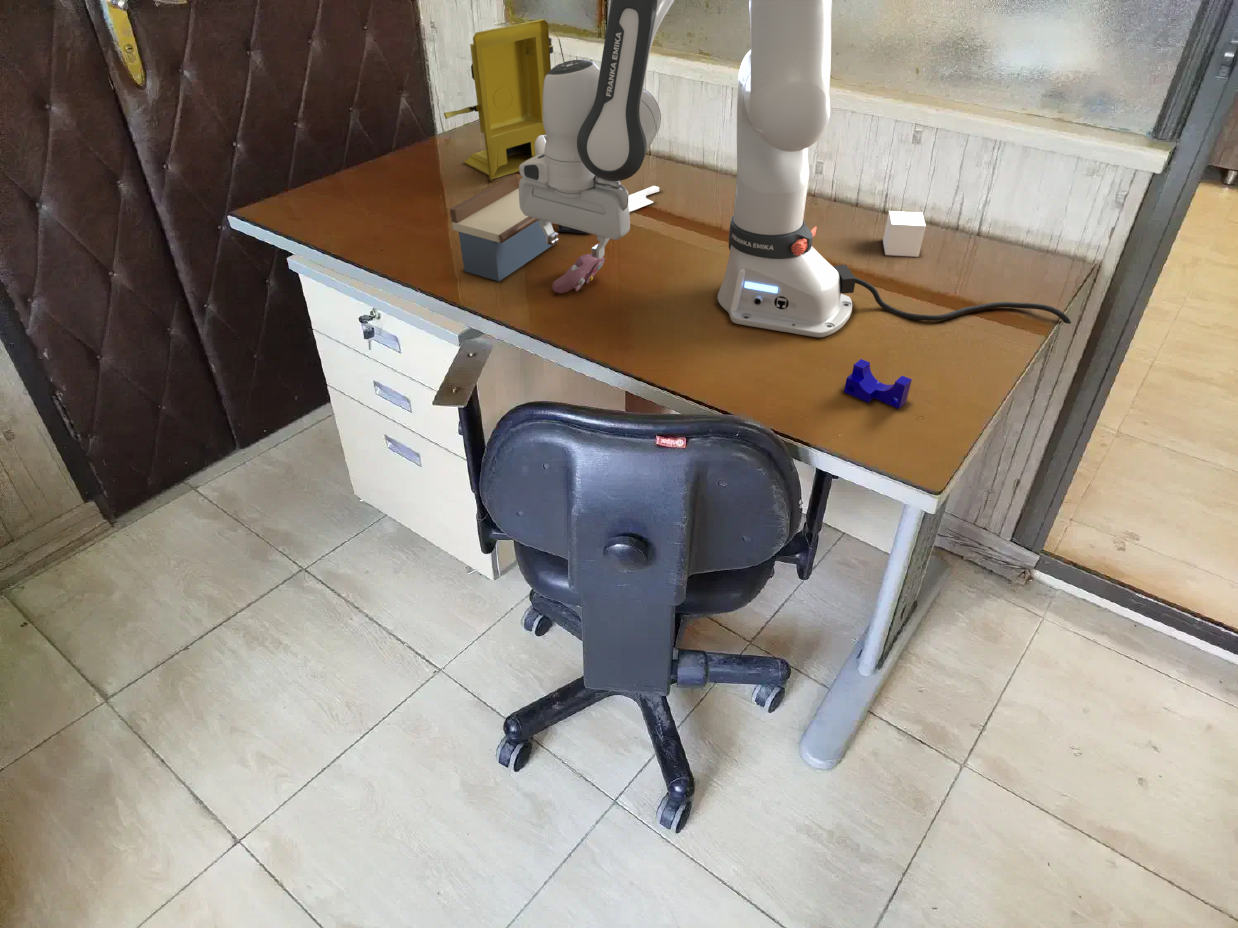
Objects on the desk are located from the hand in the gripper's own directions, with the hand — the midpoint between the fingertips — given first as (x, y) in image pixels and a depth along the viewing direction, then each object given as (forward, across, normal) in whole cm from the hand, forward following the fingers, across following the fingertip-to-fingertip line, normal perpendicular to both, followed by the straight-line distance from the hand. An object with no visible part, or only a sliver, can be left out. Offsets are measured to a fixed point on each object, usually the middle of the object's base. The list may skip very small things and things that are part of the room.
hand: (574, 250), depth 142 cm
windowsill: (+7, +16, -3) cm, 18 cm away
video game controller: (+7, -1, 0) cm, 7 cm away
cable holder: (+6, -56, +7) cm, 57 cm away
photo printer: (+7, +27, -30) cm, 41 cm away
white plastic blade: (+6, +9, -36) cm, 38 cm away
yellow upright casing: (+7, +46, -42) cm, 63 cm away
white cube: (+5, -45, -42) cm, 62 cm away
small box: (+7, +14, -22) cm, 27 cm away
